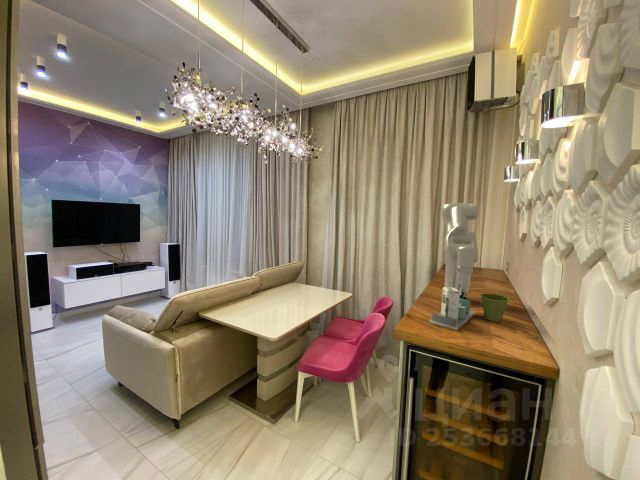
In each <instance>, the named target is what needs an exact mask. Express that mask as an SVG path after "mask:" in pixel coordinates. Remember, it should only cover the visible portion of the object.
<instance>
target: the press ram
mask: <svg viewBox="0 0 640 480" xmlns="http://www.w3.org/2000/svg"><path fill="white" fill-rule="evenodd" d="M470 310H471V299H467V298H466V299H461V298H459V307H458V317H459V318H465V313H466V312H467V313H469V312H470Z"/></svg>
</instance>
